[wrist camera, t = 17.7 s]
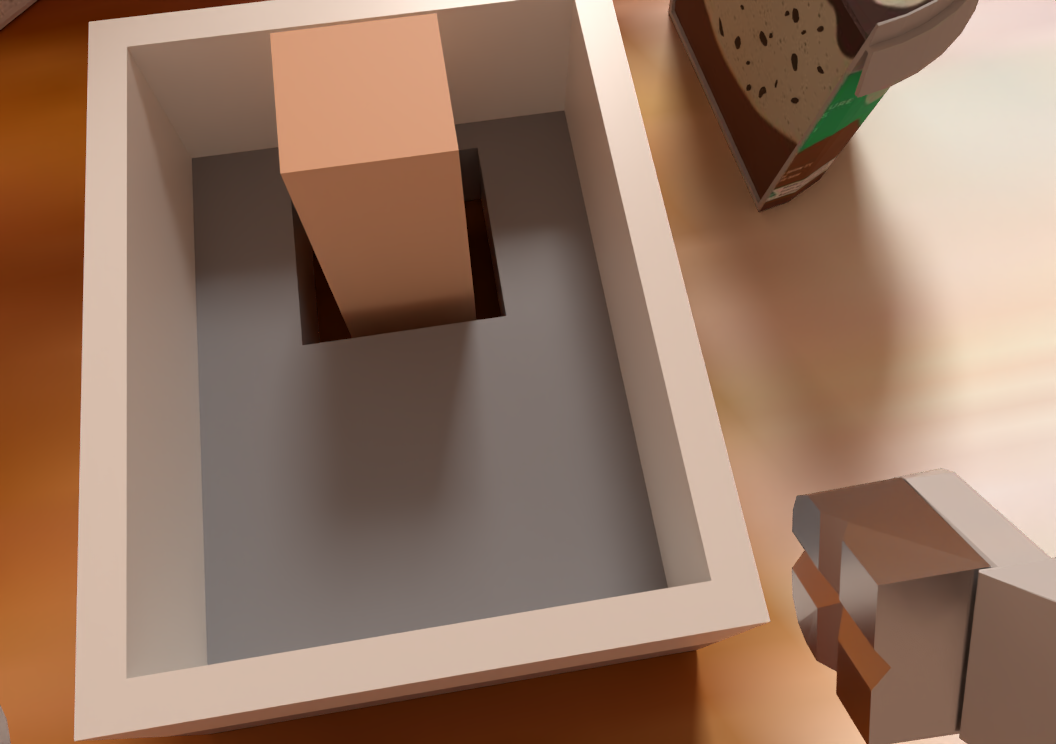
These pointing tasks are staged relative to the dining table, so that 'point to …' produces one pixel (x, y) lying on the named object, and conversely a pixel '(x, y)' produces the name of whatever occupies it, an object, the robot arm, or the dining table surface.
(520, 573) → the socket box
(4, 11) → the cereal box
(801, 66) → the food container
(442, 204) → the peg
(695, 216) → the dining table surface
